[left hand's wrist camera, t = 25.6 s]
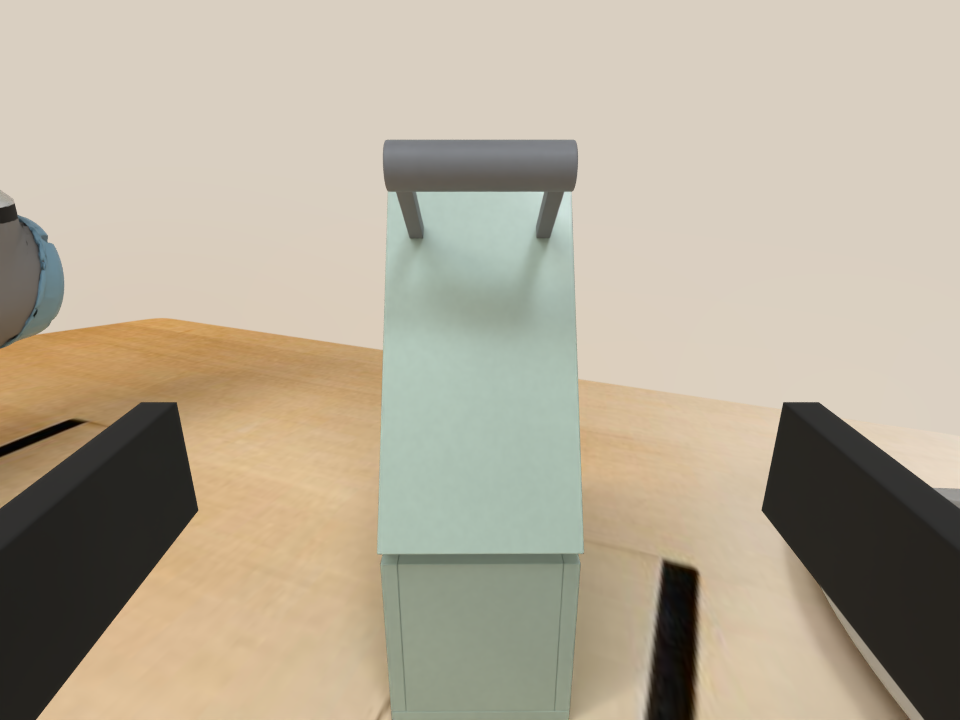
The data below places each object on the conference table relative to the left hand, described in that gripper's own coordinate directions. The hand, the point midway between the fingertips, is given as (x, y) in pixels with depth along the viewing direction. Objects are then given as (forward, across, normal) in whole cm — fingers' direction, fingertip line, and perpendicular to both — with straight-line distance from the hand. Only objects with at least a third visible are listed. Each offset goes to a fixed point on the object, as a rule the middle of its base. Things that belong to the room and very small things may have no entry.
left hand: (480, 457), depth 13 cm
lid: (+16, 0, -4) cm, 16 cm away
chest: (+19, 0, -22) cm, 29 cm away
